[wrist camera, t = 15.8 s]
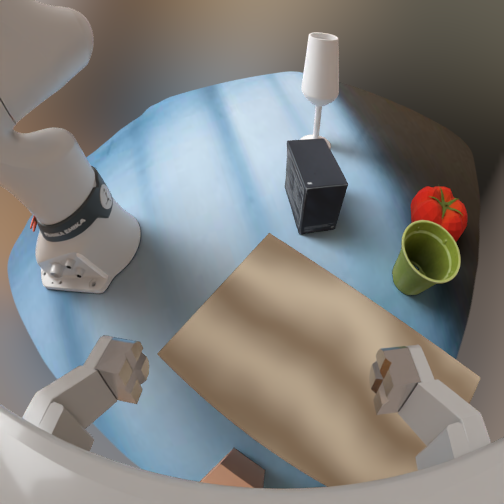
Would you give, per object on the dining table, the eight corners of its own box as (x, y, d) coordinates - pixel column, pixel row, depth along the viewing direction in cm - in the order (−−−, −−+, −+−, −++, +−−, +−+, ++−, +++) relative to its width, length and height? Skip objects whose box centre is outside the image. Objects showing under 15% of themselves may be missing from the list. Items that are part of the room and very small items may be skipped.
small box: (337, 229, 44) (351, 184, 35) (298, 236, 44) (304, 190, 35) (318, 182, 49) (325, 136, 40) (283, 186, 49) (284, 139, 40)
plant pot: (416, 319, 35) (445, 297, 28) (370, 279, 39) (390, 249, 32) (441, 276, 38) (468, 248, 31) (399, 241, 42) (419, 208, 35)
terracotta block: (239, 494, 26) (228, 522, 17) (209, 472, 27) (187, 493, 19) (265, 470, 27) (262, 493, 19) (234, 447, 29) (220, 463, 20)
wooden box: (347, 477, 25) (394, 518, 12) (203, 374, 34) (157, 353, 20) (408, 392, 30) (480, 377, 16) (270, 297, 39) (269, 233, 25)
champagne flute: (324, 133, 56) (334, 31, 36) (335, 152, 53) (351, 43, 32) (294, 136, 56) (297, 31, 35) (304, 156, 53) (311, 41, 32)
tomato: (461, 231, 42) (480, 207, 36) (437, 265, 39) (458, 241, 33) (422, 195, 47) (436, 168, 40) (393, 222, 44) (408, 194, 37)
